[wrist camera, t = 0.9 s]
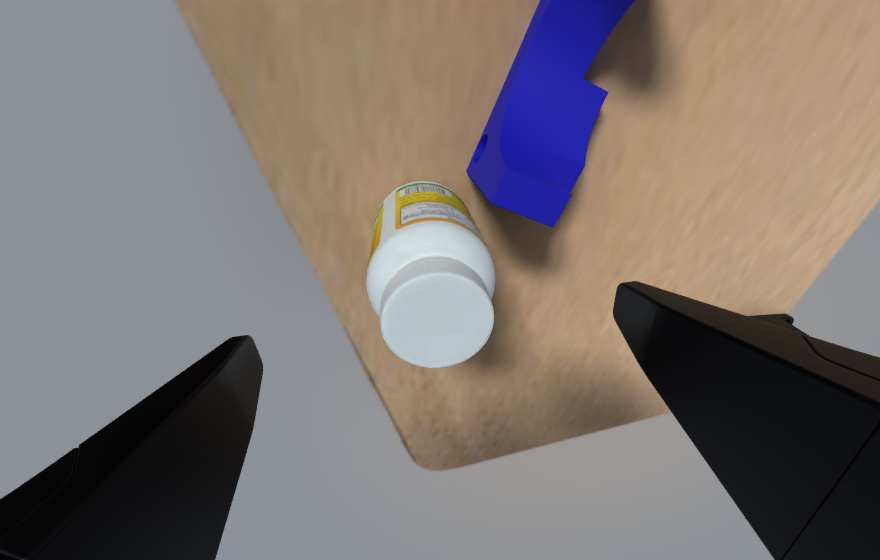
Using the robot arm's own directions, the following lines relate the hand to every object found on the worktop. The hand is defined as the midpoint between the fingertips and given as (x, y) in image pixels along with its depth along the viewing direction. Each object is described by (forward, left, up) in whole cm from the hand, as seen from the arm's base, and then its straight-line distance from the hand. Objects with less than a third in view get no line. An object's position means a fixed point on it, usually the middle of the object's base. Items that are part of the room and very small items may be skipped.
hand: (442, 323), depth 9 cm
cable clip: (+5, -7, -13) cm, 16 cm away
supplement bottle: (-2, 0, -13) cm, 13 cm away
